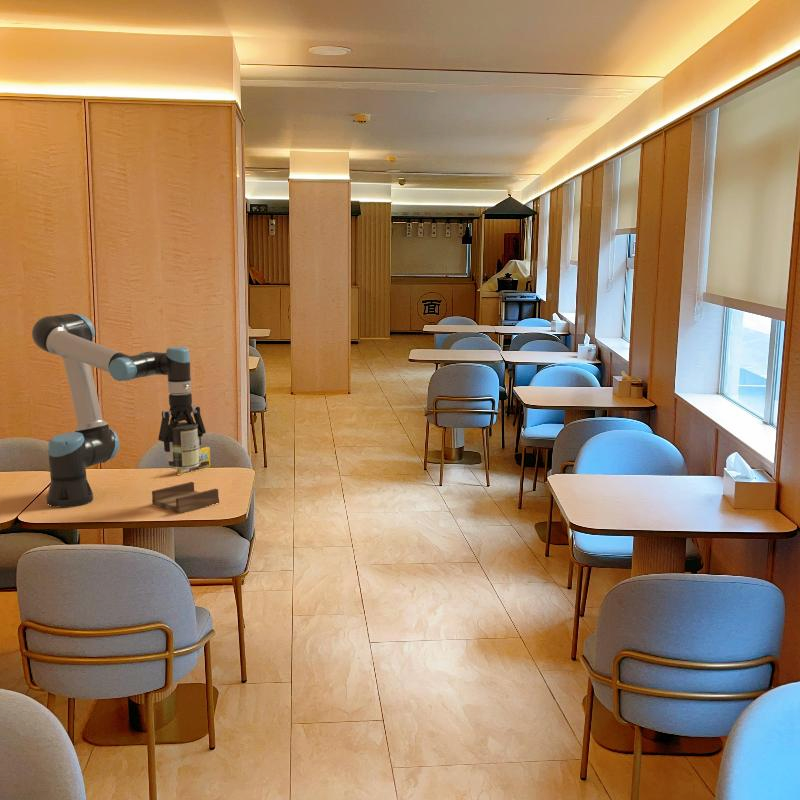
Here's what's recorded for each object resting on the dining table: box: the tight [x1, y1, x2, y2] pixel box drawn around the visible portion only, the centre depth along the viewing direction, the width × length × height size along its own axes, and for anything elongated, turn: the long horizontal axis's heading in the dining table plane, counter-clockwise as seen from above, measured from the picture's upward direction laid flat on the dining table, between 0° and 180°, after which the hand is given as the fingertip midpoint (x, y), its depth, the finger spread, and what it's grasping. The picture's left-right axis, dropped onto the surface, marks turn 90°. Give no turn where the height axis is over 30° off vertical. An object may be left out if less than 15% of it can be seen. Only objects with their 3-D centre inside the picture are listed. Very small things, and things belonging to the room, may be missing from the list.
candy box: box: [176, 446, 211, 476], centre depth 355 cm, size 16×2×8 cm, turn 147°
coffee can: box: [168, 421, 199, 470], centre depth 306 cm, size 10×10×14 cm
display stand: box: [151, 481, 220, 515], centre depth 309 cm, size 16×16×5 cm
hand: (183, 457), depth 307 cm, fingers closed on coffee can, 10 cm apart
